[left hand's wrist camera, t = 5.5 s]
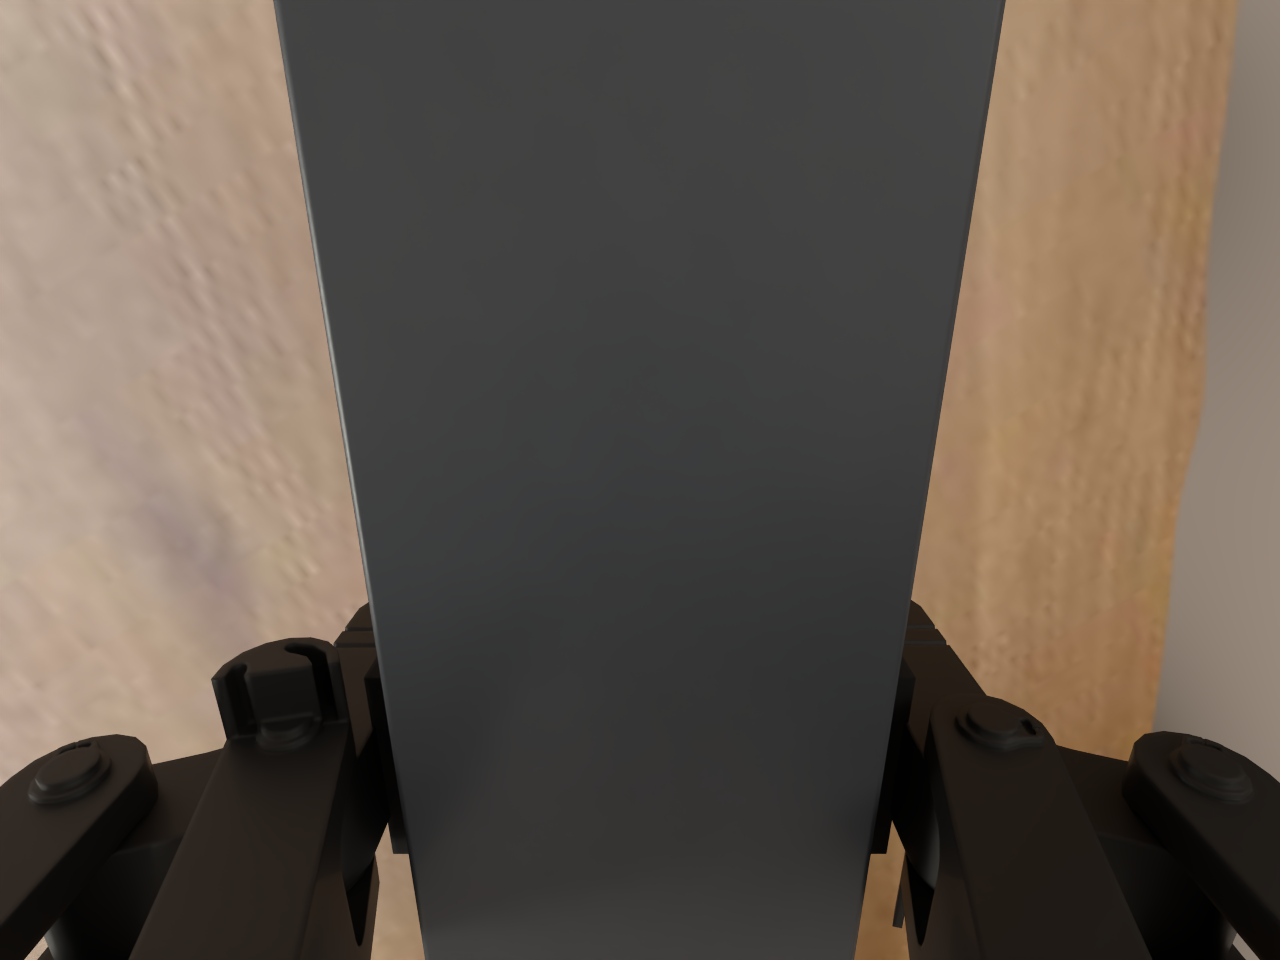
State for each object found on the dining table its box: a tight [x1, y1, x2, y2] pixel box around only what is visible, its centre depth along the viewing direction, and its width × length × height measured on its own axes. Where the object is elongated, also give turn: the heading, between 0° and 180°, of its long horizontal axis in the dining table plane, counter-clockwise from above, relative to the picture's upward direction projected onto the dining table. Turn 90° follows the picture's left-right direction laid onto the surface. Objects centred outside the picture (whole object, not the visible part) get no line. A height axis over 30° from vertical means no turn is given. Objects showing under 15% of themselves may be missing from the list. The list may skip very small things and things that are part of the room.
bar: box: [273, 0, 1006, 960], centre depth 8 cm, size 21×5×8 cm, turn 0°
